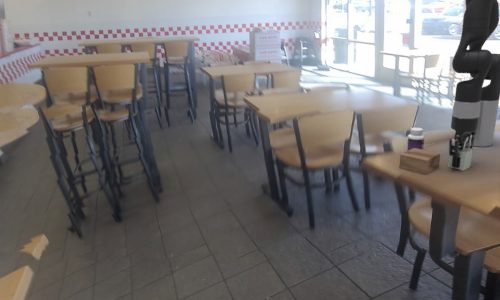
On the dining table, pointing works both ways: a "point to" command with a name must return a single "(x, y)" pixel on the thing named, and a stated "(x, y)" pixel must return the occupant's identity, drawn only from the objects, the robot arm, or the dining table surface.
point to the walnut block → (419, 160)
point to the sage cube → (463, 159)
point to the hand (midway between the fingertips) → (459, 164)
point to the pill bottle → (415, 139)
